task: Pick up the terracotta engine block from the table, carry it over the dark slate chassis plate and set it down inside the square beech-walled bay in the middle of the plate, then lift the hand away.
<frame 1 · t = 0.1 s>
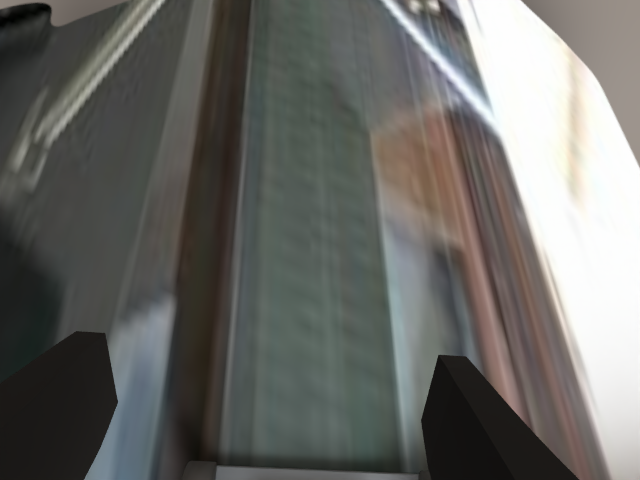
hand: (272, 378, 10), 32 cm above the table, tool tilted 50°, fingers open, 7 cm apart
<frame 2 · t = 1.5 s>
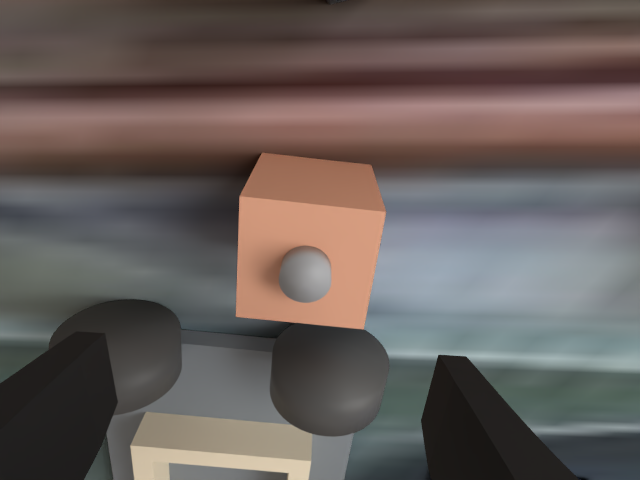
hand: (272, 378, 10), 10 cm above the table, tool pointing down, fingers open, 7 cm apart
engine block: (311, 209, 18), on the table
chassis: (231, 457, 25), on the table
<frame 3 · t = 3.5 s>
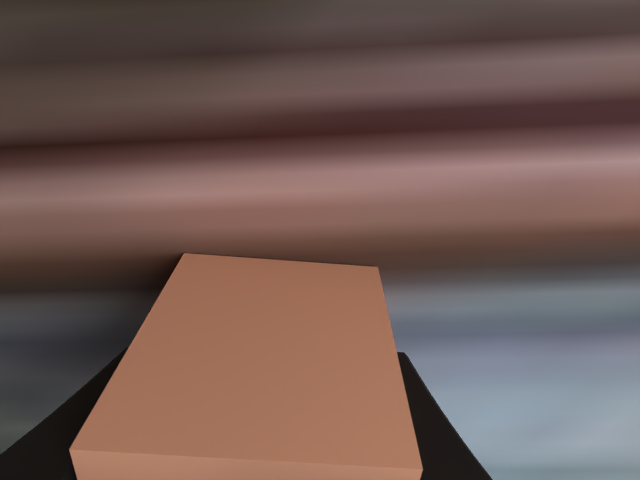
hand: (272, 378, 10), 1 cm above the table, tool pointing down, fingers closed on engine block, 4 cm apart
engine block: (278, 336, 11), on the table, touching gripper
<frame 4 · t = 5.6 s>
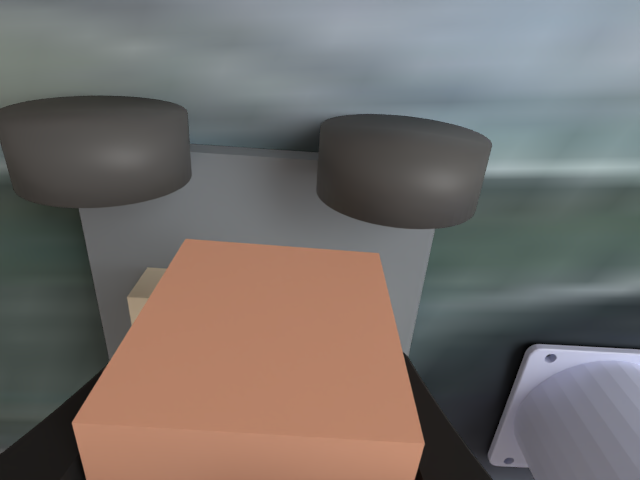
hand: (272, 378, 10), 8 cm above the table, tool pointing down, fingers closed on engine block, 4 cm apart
engine block: (279, 323, 11), point 7 cm above the table, touching gripper
chassis: (261, 342, 20), on the table
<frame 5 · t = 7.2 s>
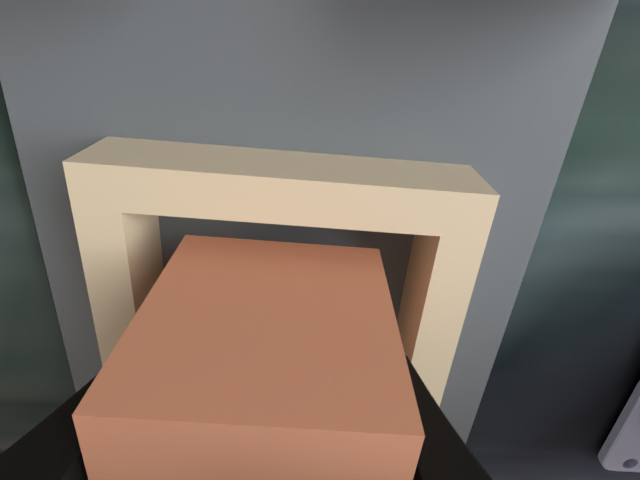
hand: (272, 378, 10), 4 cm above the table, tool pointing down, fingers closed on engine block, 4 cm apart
engine block: (279, 319, 11), point 2 cm above the table, touching gripper
chassis: (286, 281, 13), on the table
when the fingers open (4 cm above the table, at t = 8.1 s): engine block drops 1 cm, resting on chassis.
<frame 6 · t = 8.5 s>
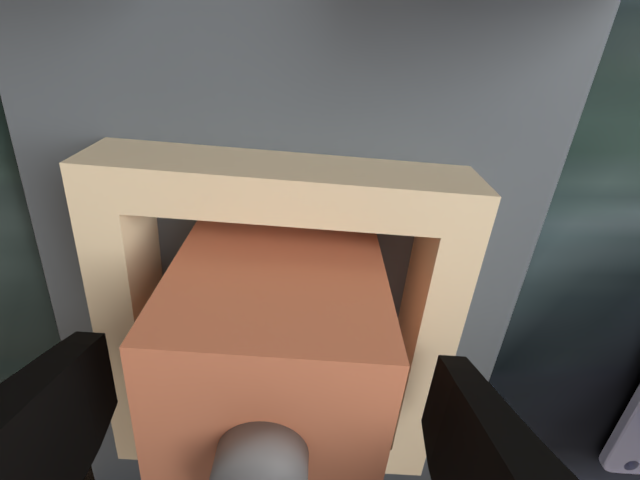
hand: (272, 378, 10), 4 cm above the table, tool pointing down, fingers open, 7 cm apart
engine block: (284, 292, 12), point 1 cm above the table, touching chassis
chassis: (285, 282, 13), on the table
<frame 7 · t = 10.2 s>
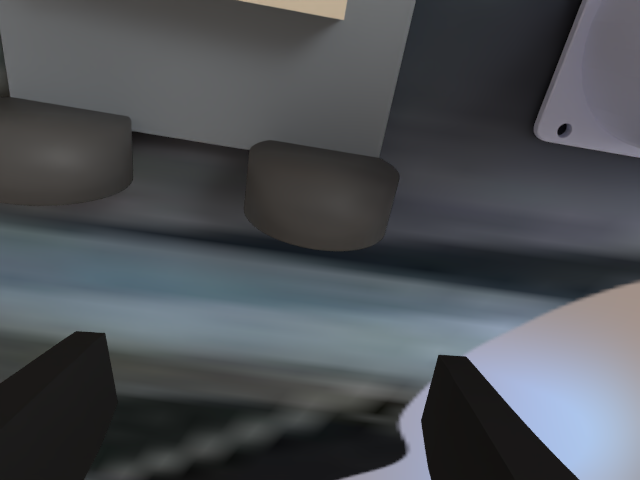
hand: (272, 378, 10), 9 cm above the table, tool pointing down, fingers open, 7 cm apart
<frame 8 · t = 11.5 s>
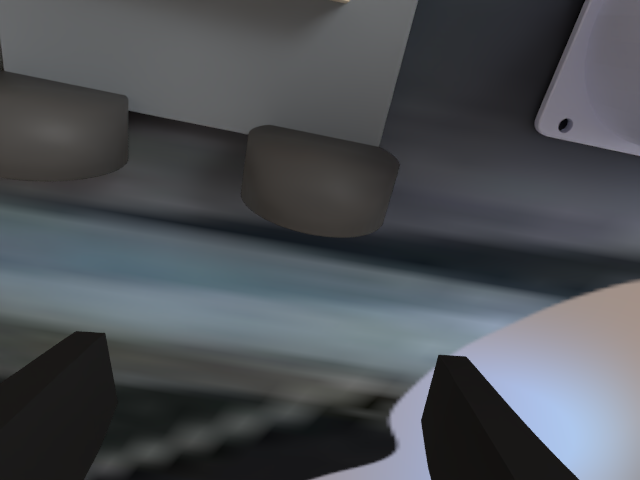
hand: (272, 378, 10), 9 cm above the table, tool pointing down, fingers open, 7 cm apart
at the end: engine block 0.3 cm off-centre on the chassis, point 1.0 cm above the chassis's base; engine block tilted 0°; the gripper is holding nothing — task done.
